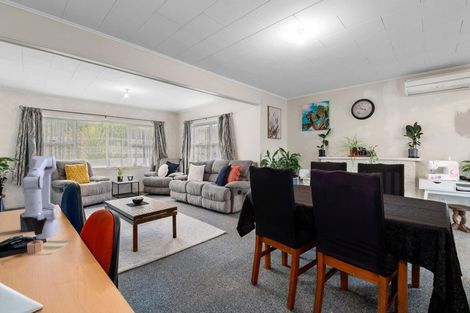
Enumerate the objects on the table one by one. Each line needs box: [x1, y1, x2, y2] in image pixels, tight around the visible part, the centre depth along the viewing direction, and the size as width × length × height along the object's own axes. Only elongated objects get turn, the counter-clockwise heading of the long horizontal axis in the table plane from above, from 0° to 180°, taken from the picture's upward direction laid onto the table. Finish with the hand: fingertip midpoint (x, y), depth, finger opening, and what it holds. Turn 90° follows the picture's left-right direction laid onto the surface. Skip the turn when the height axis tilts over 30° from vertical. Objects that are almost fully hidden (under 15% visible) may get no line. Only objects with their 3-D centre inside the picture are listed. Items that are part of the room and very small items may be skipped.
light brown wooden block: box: [26, 239, 44, 254], centre depth 99 cm, size 5×5×4 cm
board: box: [20, 239, 73, 257], centre depth 104 cm, size 16×12×6 cm
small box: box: [19, 211, 28, 233], centre depth 131 cm, size 11×6×10 cm, turn 105°
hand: (34, 233), depth 100 cm, fingers open, 7 cm apart
